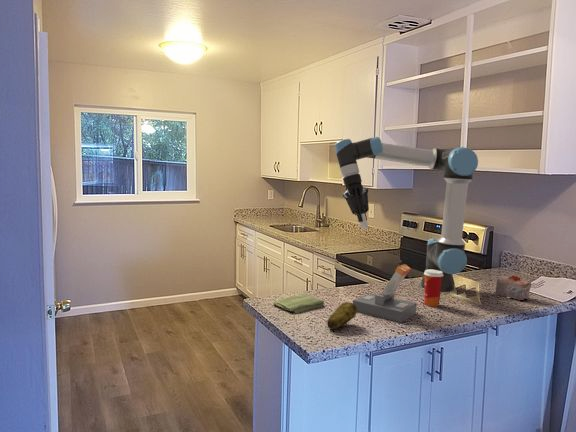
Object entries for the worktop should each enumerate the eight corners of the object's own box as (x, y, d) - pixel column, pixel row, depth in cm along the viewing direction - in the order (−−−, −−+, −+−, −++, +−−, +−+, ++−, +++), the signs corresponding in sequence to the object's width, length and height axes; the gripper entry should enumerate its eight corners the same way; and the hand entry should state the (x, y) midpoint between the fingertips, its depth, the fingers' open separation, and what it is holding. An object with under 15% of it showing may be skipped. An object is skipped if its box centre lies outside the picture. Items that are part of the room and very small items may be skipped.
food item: (532, 300, 199) (534, 278, 198) (524, 303, 194) (526, 280, 193) (501, 292, 210) (503, 271, 209) (492, 295, 205) (494, 273, 204)
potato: (318, 325, 161) (319, 303, 160) (349, 320, 167) (350, 298, 166) (331, 333, 153) (332, 310, 152) (362, 327, 159) (364, 305, 158)
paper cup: (427, 300, 194) (429, 268, 192) (444, 305, 188) (447, 271, 187) (418, 304, 188) (420, 270, 187) (435, 308, 183) (437, 274, 181)
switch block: (352, 310, 178) (353, 291, 177) (369, 302, 189) (370, 284, 188) (400, 322, 166) (401, 302, 165) (415, 313, 177) (417, 294, 176)
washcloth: (271, 306, 181) (271, 298, 181) (304, 299, 192) (305, 291, 192) (292, 315, 171) (292, 307, 171) (326, 307, 182) (326, 299, 182)
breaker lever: (376, 299, 175) (397, 266, 169) (384, 295, 180) (404, 263, 174) (382, 304, 174) (404, 271, 168) (390, 300, 179) (411, 268, 173)
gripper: (357, 176, 203) (370, 227, 201) (334, 179, 196) (348, 233, 194) (368, 171, 196) (382, 224, 195) (344, 175, 189) (359, 230, 188)
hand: (365, 228), depth 194 cm, fingers closed
